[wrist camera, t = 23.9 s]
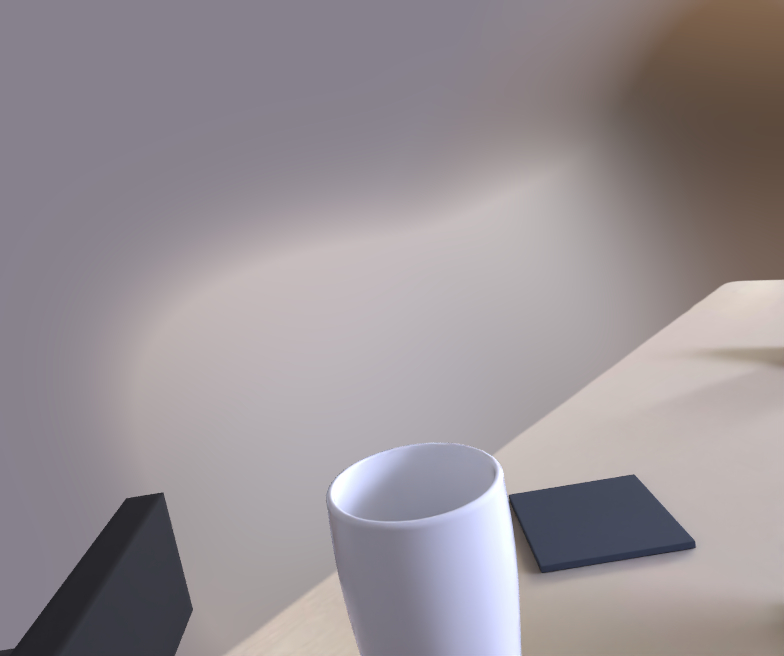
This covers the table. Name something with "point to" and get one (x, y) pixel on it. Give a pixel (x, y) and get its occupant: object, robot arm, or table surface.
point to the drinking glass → (427, 552)
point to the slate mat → (596, 523)
